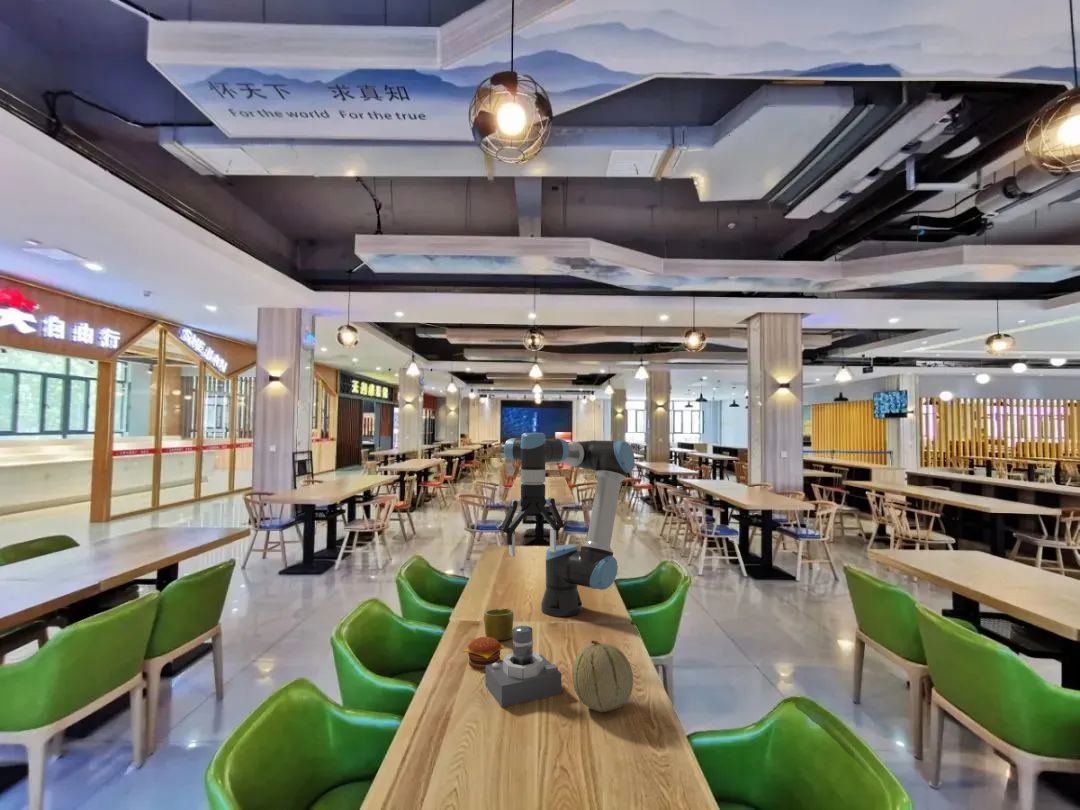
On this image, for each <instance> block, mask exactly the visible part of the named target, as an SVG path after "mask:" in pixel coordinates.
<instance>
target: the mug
mask: <svg viewBox="0 0 1080 810" xmlns="http://www.w3.org/2000/svg"><path fill="white" fill-rule="evenodd" d="M483 621H484V633H485V637H491V638H495V639H496V640H497V641H498V642H501V641H506V640H507V641H508V640H511V639H513V629H514V627H513V626H514V625H513V624H514V611H513V610H512V609H510V608H504V607H498V608H495V609H489V610H486V611H485V612H484V615H483Z"/></svg>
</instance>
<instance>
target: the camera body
mask: <svg viewBox="0 0 1080 810" xmlns="http://www.w3.org/2000/svg"><path fill="white" fill-rule="evenodd" d="M485 687H486V688H487V689H488V691H489V692H490V693H491V695H492V696H493V698H494V699H495V701H496V702H497V703H498V704H499V706H500V707H501V708H506V707H511V706H514V705H519V704H521V703H522V704H523V703H526V702H531V701H535V700H539V699H544V698H548V697H553V696H558V695H562V673H561V671H559V667H558V666H557V665H556V664H554V663H551V662H550V661H549V660H547V658H546V657H544V656H543V655H542V654H538V653H536V652H533V664H528V665H523V666H522V665H516V664H513V652H511V653H508V654H507V655H505V657H504V658H503V659H502V662H500V663H493V664H491V665H486V669H485Z"/></svg>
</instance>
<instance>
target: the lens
mask: <svg viewBox="0 0 1080 810" xmlns="http://www.w3.org/2000/svg"><path fill="white" fill-rule="evenodd" d="M533 638H534V636H533V628H532V627H531V626H528V625H518V626H515V627H513V635H512V653H513V664H516V665H522V666H523V665H528V664H533V653H534V652H533V651H534V649H533V645H534V641H533V640H534V639H533Z"/></svg>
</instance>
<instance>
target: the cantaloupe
mask: <svg viewBox="0 0 1080 810" xmlns="http://www.w3.org/2000/svg"><path fill="white" fill-rule="evenodd" d="M590 643H591V644H592V645H589V646H586V647H585V648H583V649H582V650H581V651H580V652H579V653H578V655H576V657H575V660H574V663H573V665H572V671H571V676H572V678H571V679H572V686H573V688H574V691H575V694H576V696H577V698H578V699H579V700H580V702H581V703H583V704H584V705H585V707H588V709H591V710H592V711H596V712H599V713H605V712H611V711H613V710H617V709H619V708H621V707H622V706H624V705H625V704H626V703H627V702H628V701H629V699H630V697H631V695H632V691H633V688H634V675H633V671H632V670H633V669H632V666H631V663H630V662H629V659H627V657H626V656H625V654H624V652H623V651H621V650H620V649H619V648H618V647H616V646H615V645H611V644H607V643H599V641H597V640H593V639H592V640H591V642H590Z"/></svg>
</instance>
